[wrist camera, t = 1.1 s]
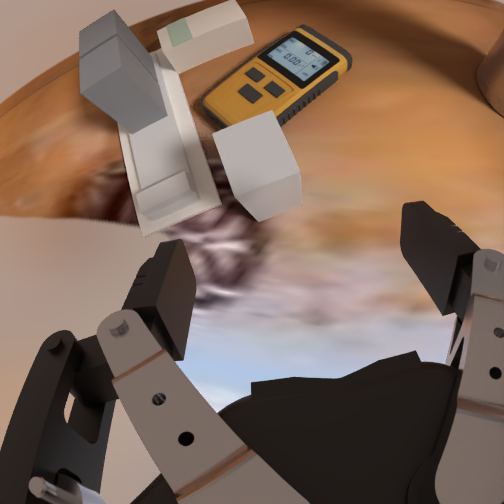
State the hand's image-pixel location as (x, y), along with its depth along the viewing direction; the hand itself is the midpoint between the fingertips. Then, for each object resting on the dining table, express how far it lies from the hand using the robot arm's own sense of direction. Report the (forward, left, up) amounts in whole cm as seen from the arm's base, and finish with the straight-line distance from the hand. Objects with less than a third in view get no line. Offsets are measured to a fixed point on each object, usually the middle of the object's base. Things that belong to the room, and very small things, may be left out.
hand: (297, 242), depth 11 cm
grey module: (0, -8, -18) cm, 20 cm away
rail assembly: (+10, -20, -18) cm, 29 cm away
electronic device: (-5, -18, -19) cm, 27 cm away
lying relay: (0, -29, -18) cm, 34 cm away
